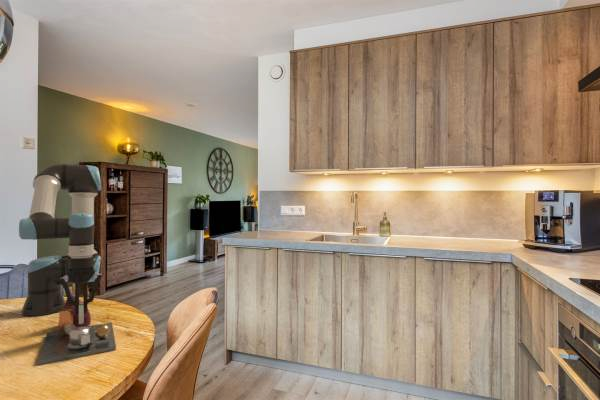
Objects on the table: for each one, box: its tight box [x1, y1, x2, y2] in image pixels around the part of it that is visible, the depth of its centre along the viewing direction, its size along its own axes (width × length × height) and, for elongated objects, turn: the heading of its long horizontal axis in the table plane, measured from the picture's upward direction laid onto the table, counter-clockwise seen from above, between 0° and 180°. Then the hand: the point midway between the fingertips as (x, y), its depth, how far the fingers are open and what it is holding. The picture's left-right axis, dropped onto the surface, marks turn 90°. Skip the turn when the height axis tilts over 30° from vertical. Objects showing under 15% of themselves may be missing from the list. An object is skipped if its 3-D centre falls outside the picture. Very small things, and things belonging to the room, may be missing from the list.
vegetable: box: [57, 292, 92, 329], centre depth 129 cm, size 10×10×15 cm
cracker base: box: [37, 322, 117, 366], centre depth 115 cm, size 25×20×7 cm
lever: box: [58, 309, 90, 345], centre depth 113 cm, size 22×5×7 cm, turn 50°
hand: (81, 322), depth 121 cm, fingers closed
